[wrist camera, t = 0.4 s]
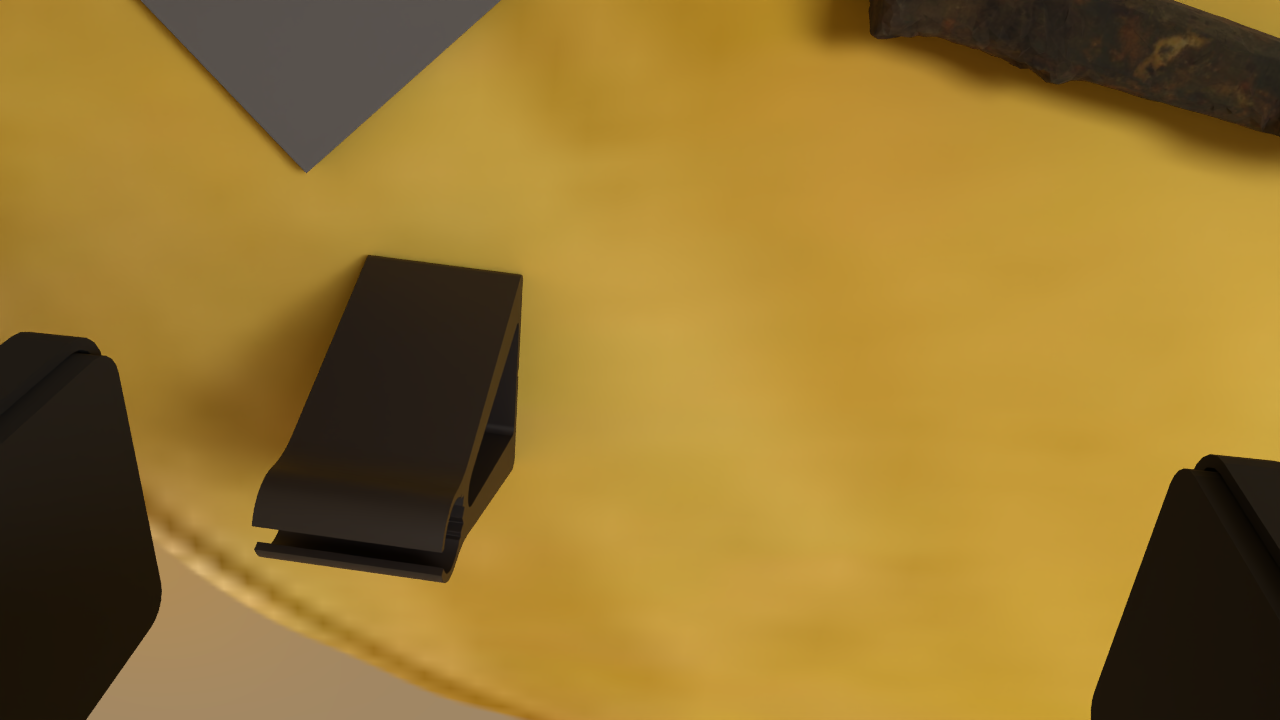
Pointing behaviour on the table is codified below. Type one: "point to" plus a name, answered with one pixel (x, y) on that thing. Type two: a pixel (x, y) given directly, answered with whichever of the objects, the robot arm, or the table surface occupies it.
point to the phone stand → (401, 424)
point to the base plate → (315, 57)
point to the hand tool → (1112, 48)
